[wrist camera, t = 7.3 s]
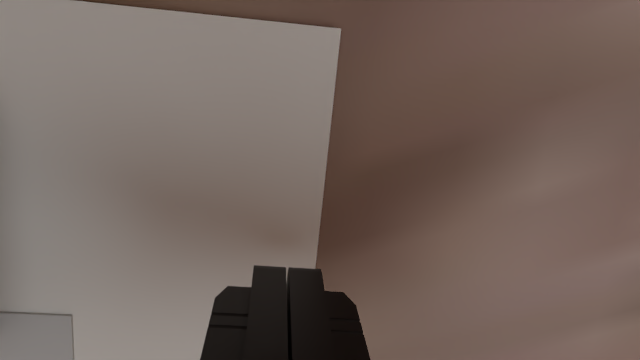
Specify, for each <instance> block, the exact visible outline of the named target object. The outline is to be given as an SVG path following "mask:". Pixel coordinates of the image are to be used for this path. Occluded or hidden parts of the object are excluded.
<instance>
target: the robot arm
mask: <svg viewBox="0 0 640 360" xmlns="http://www.w3.org/2000/svg"><path fill="white" fill-rule="evenodd" d="M359 321H360V319H359V315H358V312H357V308H356V305H355V304H354V303H353V302H352V301H351V300H350V299H349V298H348V297H347V296H346V295H345V294H344V293H343V292H330V291H324V285H323V279H322V273H321V269H310V268H293V267H289V268H288V274H287V284H286V267H275V266H258V265H254V268H253V277H252V286H251V287H238V286H227V287H226V288H225V289H224V290H223V291H222V292H221V293H220V294H218V295H217V296H216V297H215V300H214V304H213V308H212V312H211V316H210V321H209V325H208V329H207V333H206V337H205V341H204V345H203V350H202V354H201V358H200V360H370V356H369V353H368V349H367V345H366V341H365V338H364V335H363V330H362V327H361V323H360V322H359Z"/></svg>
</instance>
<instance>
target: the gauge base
mask: <svg viewBox="0 0 640 360" xmlns="http://www.w3.org/2000/svg"><path fill="white" fill-rule="evenodd" d="M340 35H341V29H340V28H330V27H321V26H312V25H302V24H293V23H283V22H274V21H264V20H255V19H245V18H236V17H226V16H217V15H207V14H198V13H188V12H179V11H170V10H160V9H151V8H141V7H132V6H122V5H113V4H103V3H94V2H84V1H75V0H0V360H200V358H201V354H202V350H203V345H204V341H205V337H206V333H207V329H208V325H209V321H210V316H211V312H212V308H213V304H214V300H215V297H216V296H217V295H218V294H220V293H221V292H222V291H223V290H224V289H225V288H226V287H227V286H238V287H251V286H252V277H253V268H254V265H258V266H275V267H286V284H287V274H288V268H289V267H293V268H310V269H315V267H316V258H317V248H318V239H319V230H320V221H321V211H322V202H323V193H324V183H325V174H326V165H327V156H328V146H329V137H330V128H331V119H332V109H333V100H334V91H335V82H336V72H337V63H338V54H339V44H340Z"/></svg>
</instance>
